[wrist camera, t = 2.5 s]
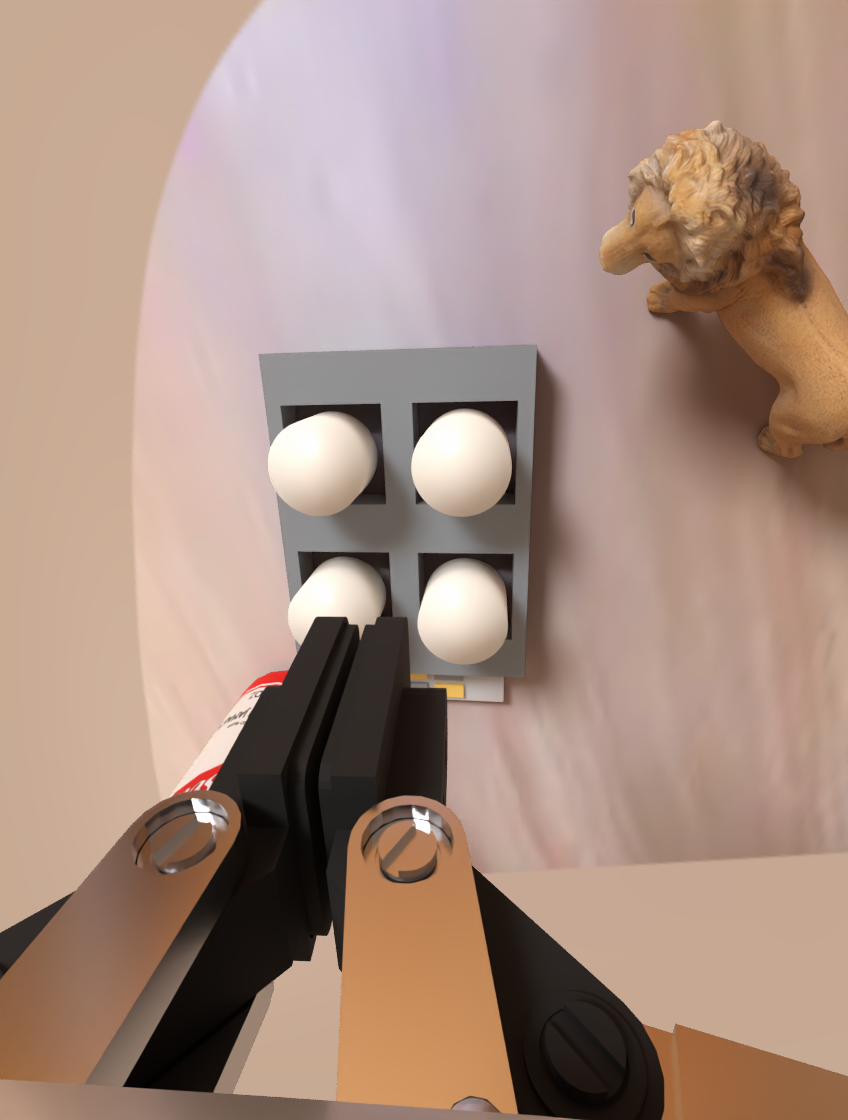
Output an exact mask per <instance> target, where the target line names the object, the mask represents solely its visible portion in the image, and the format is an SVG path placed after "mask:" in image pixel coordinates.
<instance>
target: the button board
mask: <svg viewBox="0 0 848 1120" xmlns="http://www.w3.org/2000/svg"><path fill="white" fill-rule="evenodd" d="M536 358H537V345H517V346H487V347H457V348H427V349H396V350H366V351H336V352H306V353H276V354H259V360H260V368H261V376H262V384H263V391H264V399H265V407H266V415H267V423H268V430H269V438H270V446H271V445H272V443H273V442H274V440H275V438H276V437H277V435H278V434H279V433H280V432H281V431H282V430H284V429H285V428H286V427H288V426H289V425H291V424H293V423H296V422H297V416H296V407H295V405H334V404H380V403H381V421H382V438H383V456H384V473H385V491H386V494H359V495H358V496H357V497H356V498H355V499H354V501H353V502H352V503H351V504H350V505H349V506H348V507H346V508H345V509H343V510H342V511H340V512H338V513H336V514H333V515H329V516H311V515H307V514H304V513H301V512H299V511H297V510H295V509H293V508H292V507H290V506H289V505H288V504H287V503H285V502H284V501H283V500H282V499H281V497H280V496H279V495H278V493H277V492H276V493H277V501H278V508H279V516H280V524H281V532H282V540H283V547H284V555H285V563H286V571H287V579H288V586H289V594H290V602H291V601H292V599H293V597H294V596H295V595H296V594H297V592H298V591H299V590H300V589H301V587H302V586H303V585H304V584H305V582H306V581H307V580H308V578H309V577H310V576H311V575H312V573H313V572H314V571H313V562H312V553H311V552H389V561H390V578H391V596H392V613H393V617H407V619H408V632H409V655H410V678H411V688H446V689H447V700H470V701H493V702H503V697H504V677H513V678H524V674H525V648H526V621H527V595H528V569H529V543H530V516H531V490H532V464H533V437H534V411H535V385H536ZM473 401H516V437H515V475H514V494H504V495H503V496H502V497H501V499H500V500H499V501H498V502H497V503H496V504H495V505H493V506H492V507H491V508H489V509H488V510H486V511H484V512H482V513H480V514H477V515H473V516H468V517H455V516H450V515H446V514H443V513H441V512H439V511H437V510H435V509H434V508H432V507H431V506H430V505H429V504H427V503H426V502H425V501H424V499H423V498H422V497H421V496H420V494H419V493H418V491H417V489H416V487H415V484H414V482H413V477H412V471H411V463H412V456H413V453H414V450H415V447H416V445H417V443H418V441H419V421H418V403H427V402H473ZM423 553H482V554H512V587H511V621H508V631H507V636H506V639H505V641H504V643H503V645H502V646H501V648H500V649H499V650H498V651H497V652H496V653H495V654H494V655H493V656H491V657H490V658H488V659H486V660H484V661H482V662H479V663H475V664H469V665H460V664H454V663H450V662H447V661H444V660H442V659H440V658H438V657H437V656H435V655H434V654H433V653H431V652H430V651H429V650H428V649H427V647H426V646H425V645H424V643H423V641H422V640H421V637H420V635H419V631H418V615H419V611H420V607H421V604H422V600H423V597H424V568H423ZM295 641H296V639H295ZM300 647H301V645H300V644H299V643H298V642H297V641H296V649H297V653H298V651H299V649H300Z"/></svg>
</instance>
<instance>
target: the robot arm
mask: <svg viewBox="0 0 848 1120" xmlns="http://www.w3.org/2000/svg"><path fill="white" fill-rule="evenodd" d="M446 788H447V689H446V688H411V678H410V655H409V632H408V619H407V617H377V619H376V622H375V625H371V624H366V625H365V627H364V630H363V633H362V637H361V640H360V634H359V627H358V625H357V624H349V622H348V618H347V617H316V618H315V619H314V621H313V623H312V625H311V627H310V629H309V631H308V633H307V635H306V637H305V639H304V641H303V643H302V645H301V647H300V649H299V651H298V653H297V655H296V657H295V659H294V661H293V663H292V665H291V667H290V669H289V671H288V673H287V675H286V677H285V679H284V681H283V683H282V685H281V686H267V687H266V688H265V689H264V690H263V692H262V693H261V695H260V697H259V699H258V700H257V702H256V704H255V706H254V708H253V710H252V711H251V713H250V715H249V717H248V719H247V720H246V722H245V724H244V726H243V728H242V730H241V731H240V733H239V735H238V737H237V739H236V741H235V742H234V744H233V746H232V748H231V750H230V751H229V753H228V755H227V757H226V759H225V761H224V762H223V764H222V766H221V768H220V770H219V772H218V773H217V775H216V777H215V779H214V781H213V783H212V784H211V786H210V788H209V790H195V791H190V792H185V793H180V794H178V795H175V796H173V797H170V798H168V799H165V800H163V801H161V802H159V803H158V804H156V805H155V806H153V807H152V808H150V809H149V810H147V811H145V812H144V813H143V814H142V815H141V816H140V817H139V818H138V819H137V820H136V821H135V822H134V823H133V824H132V825H131V826H130V827H129V828H128V830H127V831H126V832H125V833H124V834H123V836H122V837H121V838H120V839H119V840H118V841H117V842H116V844H115V845H114V846H113V847H112V848H111V850H110V851H109V852H108V853H107V854H106V855H105V857H104V858H103V859H102V860H101V862H100V863H99V864H98V865H97V866H96V867H95V869H94V870H93V871H92V872H91V873H90V874H89V876H88V877H87V878H86V879H85V880H84V882H83V883H82V884H81V885H80V886H79V887H78V889H77V890H76V891H74V892H73V893H71V894H69V895H67V896H65V897H64V898H62V899H60V900H58V901H57V902H55V903H53V904H51V905H50V906H48V907H46V908H44V909H42V910H40V911H39V912H37V913H35V914H33V915H32V916H30V917H28V918H26V919H24V920H23V921H21V922H19V923H17V924H16V925H14V926H12V927H10V928H8V929H6V930H5V931H3V932H1V933H0V1120H848V1076H845V1075H842V1074H839V1073H835V1072H832V1071H829V1070H825V1069H822V1068H819V1067H816V1066H813V1065H809V1064H806V1063H802V1062H799V1061H796V1060H793V1059H789V1058H786V1057H783V1056H780V1055H776V1054H773V1053H770V1052H766V1051H763V1050H760V1049H757V1048H753V1047H750V1046H746V1045H744V1044H740V1043H737V1042H734V1041H730V1040H727V1039H724V1038H721V1037H717V1036H714V1035H711V1034H707V1033H704V1032H701V1031H698V1030H694V1029H691V1028H688V1027H684V1026H681V1025H678V1024H675V1027H674V1031H673V1033H669V1032H666V1031H663V1030H660V1029H657V1028H654V1027H650V1026H647V1025H644V1024H642V1023H641V1022H640V1021H639V1020H638V1019H637V1017H635V1015H634V1014H633V1013H632V1012H631V1011H630V1009H629V1008H628V1007H627V1006H626V1005H625V1004H624V1003H623V1002H622V1001H621V1000H620V999H619V998H618V997H617V996H615V994H613V993H612V992H611V991H610V990H609V989H608V988H607V987H605V985H603V984H602V983H601V982H600V981H599V980H598V979H597V978H596V977H595V976H594V975H592V974H591V973H590V972H589V971H588V970H587V969H586V968H585V967H584V966H582V965H581V964H580V963H579V962H578V961H577V960H576V959H575V958H573V956H571V955H570V954H569V953H568V952H567V951H566V950H565V949H563V947H561V946H560V945H559V944H558V943H557V942H556V941H555V940H554V939H553V938H552V937H550V936H549V935H548V934H547V933H546V932H545V931H544V930H543V929H541V928H540V927H539V926H538V925H537V924H536V923H535V922H534V921H533V920H532V919H530V918H529V917H528V916H527V915H526V914H525V913H524V912H523V911H522V910H520V909H519V908H518V907H517V906H516V905H515V904H514V903H513V902H512V901H511V900H509V899H508V898H507V897H506V896H505V895H504V894H503V893H502V892H501V891H499V890H498V889H497V888H496V887H495V886H494V885H493V884H492V883H491V882H490V881H488V880H487V879H486V878H485V877H484V876H483V875H482V874H481V873H480V872H478V871H477V870H476V869H475V868H474V867H473V866H472V865H471V860H470V855H469V849H468V844H467V839H466V834H465V832H464V829H463V827H462V824H461V821H460V820H459V819H458V818H457V817H456V815H455V814H454V813H453V812H452V811H451V810H450V809H449V808H447V807H446ZM332 921H333V928H334V936H335V943H336V950H337V958H338V966H339V969H340V970H341V972H342V985H341V1006H340V1029H339V1051H338V1072H337V1095H336V1101H323V1100H310V1099H296V1098H282V1097H267V1096H251V1095H237V1094H233V1091H234V1089H235V1086H236V1084H237V1082H238V1079H239V1077H240V1074H241V1072H242V1070H243V1067H244V1065H245V1062H246V1060H247V1057H248V1055H249V1053H250V1051H251V1048H252V1046H253V1043H254V1041H255V1038H256V1036H257V1034H258V1031H259V1029H260V1027H261V1024H262V1022H263V1019H264V1017H265V1015H266V1012H267V1010H268V1007H269V1005H270V1001H271V997H272V993H273V990H274V983H273V981H274V980H275V979H276V978H277V977H278V976H280V975H281V974H282V973H283V972H285V971H286V970H287V969H289V968H290V967H291V966H292V964H293V960H294V961H310V960H311V956H312V953H313V949H314V944H315V940H316V936H317V935H321V936H327V935H328V933H329V931H330V927H331V923H332Z"/></svg>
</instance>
